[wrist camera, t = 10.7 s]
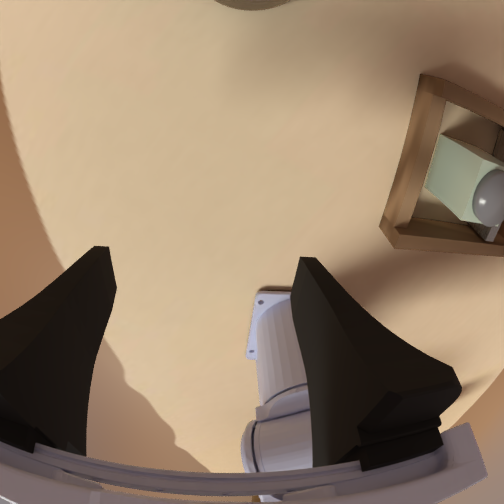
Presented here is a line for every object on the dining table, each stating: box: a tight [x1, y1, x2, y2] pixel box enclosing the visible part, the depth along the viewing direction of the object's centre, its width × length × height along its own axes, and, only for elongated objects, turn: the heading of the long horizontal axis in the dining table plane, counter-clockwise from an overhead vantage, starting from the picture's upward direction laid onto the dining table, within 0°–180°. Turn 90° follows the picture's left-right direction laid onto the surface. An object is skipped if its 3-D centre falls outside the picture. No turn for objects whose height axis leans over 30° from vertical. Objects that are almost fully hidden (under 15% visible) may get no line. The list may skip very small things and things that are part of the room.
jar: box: [425, 134, 504, 227], centre depth 18 cm, size 4×4×6 cm
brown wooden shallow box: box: [379, 74, 504, 257], centre depth 19 cm, size 12×16×4 cm
